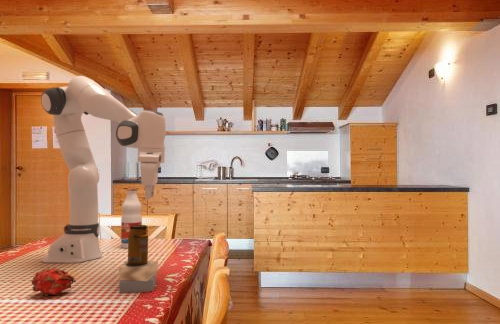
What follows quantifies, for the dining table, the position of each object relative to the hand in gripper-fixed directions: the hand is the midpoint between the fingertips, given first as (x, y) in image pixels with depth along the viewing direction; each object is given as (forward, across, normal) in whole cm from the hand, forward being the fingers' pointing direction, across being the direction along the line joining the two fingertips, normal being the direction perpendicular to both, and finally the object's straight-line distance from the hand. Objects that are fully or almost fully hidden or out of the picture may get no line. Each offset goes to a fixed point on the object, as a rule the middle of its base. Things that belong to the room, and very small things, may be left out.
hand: (149, 198), depth 127 cm
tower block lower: (+28, +8, -2) cm, 29 cm away
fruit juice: (+28, -56, -12) cm, 64 cm away
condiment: (+20, +8, -2) cm, 22 cm away
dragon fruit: (+29, +10, -26) cm, 40 cm away
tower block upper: (+24, +8, -2) cm, 26 cm away
